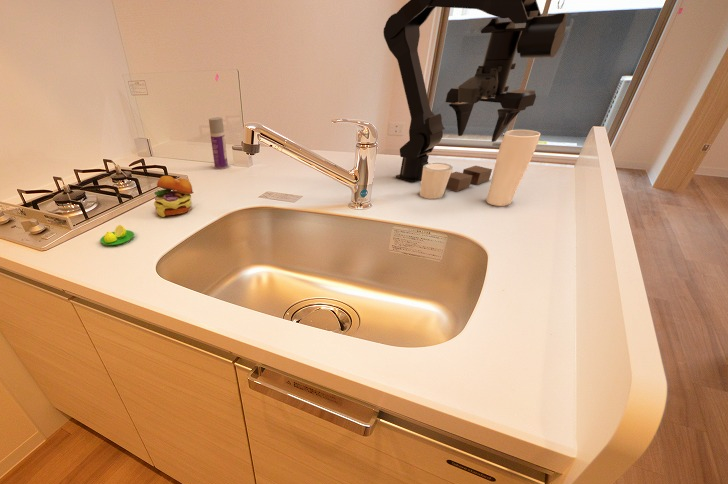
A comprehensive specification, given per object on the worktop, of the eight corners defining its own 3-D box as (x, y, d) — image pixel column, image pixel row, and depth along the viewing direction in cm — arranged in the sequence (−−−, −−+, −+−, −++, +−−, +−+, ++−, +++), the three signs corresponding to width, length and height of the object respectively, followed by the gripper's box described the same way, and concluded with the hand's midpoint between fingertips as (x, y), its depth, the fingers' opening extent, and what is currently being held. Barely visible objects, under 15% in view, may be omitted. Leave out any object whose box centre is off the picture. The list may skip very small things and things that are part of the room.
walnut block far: (460, 180, 101) (463, 169, 99) (472, 176, 103) (475, 165, 101) (476, 184, 98) (480, 173, 96) (488, 180, 100) (492, 169, 98)
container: (213, 169, 128) (206, 120, 118) (216, 165, 131) (210, 117, 122) (226, 168, 127) (220, 119, 117) (229, 165, 130) (223, 116, 121)
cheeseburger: (146, 214, 99) (143, 174, 94) (176, 210, 106) (174, 173, 102) (171, 220, 94) (169, 178, 89) (200, 216, 101) (200, 177, 96)
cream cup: (448, 192, 95) (455, 163, 91) (442, 201, 91) (449, 171, 87) (420, 189, 98) (426, 161, 94) (414, 197, 94) (419, 169, 90)
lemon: (118, 230, 92) (115, 219, 90) (141, 235, 88) (138, 224, 87) (94, 243, 87) (89, 232, 85) (117, 249, 83) (113, 237, 82)
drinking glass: (518, 208, 85) (546, 135, 75) (486, 208, 86) (510, 137, 76) (508, 197, 90) (534, 128, 80) (478, 197, 91) (500, 130, 81)
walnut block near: (440, 187, 99) (443, 175, 97) (453, 182, 100) (456, 171, 98) (456, 191, 95) (459, 179, 93) (469, 187, 97) (472, 175, 95)
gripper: (437, 62, 83) (422, 138, 93) (515, 63, 70) (488, 151, 80) (470, 57, 87) (453, 131, 97) (551, 57, 74) (521, 142, 84)
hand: (476, 138), depth 90 cm, fingers open, 9 cm apart
